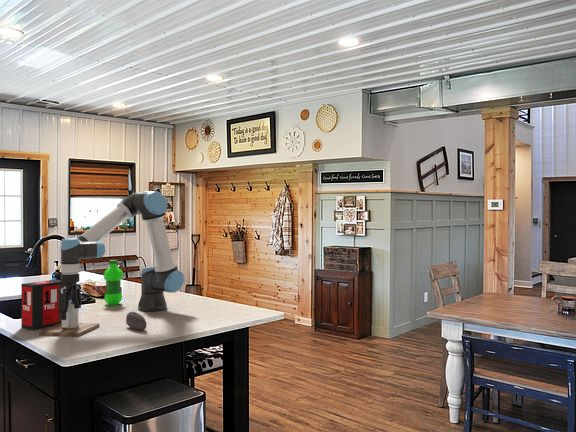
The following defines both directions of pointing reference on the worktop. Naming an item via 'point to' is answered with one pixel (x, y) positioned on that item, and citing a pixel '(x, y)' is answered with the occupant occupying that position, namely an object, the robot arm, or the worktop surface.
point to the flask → (71, 317)
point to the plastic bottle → (113, 283)
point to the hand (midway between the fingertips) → (70, 324)
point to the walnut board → (69, 330)
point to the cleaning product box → (40, 304)
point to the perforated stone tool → (136, 321)
